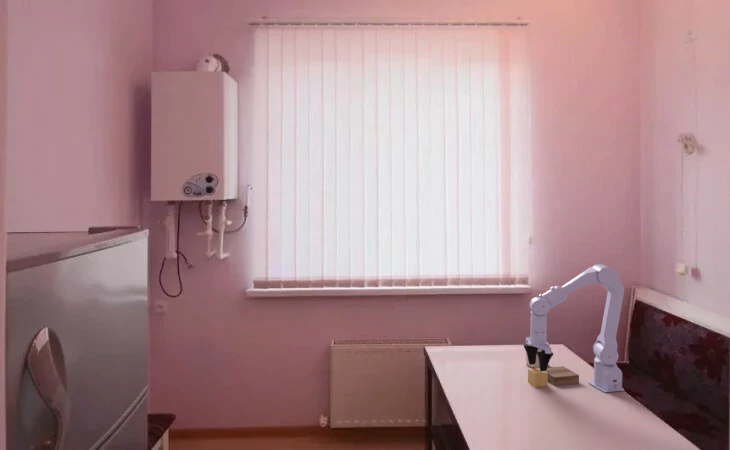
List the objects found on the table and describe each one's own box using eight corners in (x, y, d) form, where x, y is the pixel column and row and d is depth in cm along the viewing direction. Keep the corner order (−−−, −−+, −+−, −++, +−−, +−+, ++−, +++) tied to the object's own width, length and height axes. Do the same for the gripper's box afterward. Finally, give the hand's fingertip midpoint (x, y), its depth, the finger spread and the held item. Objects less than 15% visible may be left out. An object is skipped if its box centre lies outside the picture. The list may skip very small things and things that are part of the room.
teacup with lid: (552, 368, 212) (552, 340, 211) (529, 369, 212) (529, 340, 211) (542, 359, 224) (542, 331, 223) (520, 359, 224) (520, 332, 223)
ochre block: (547, 385, 194) (547, 372, 194) (534, 387, 193) (535, 373, 193) (540, 381, 199) (540, 367, 199) (527, 382, 198) (528, 369, 198)
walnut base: (578, 383, 197) (579, 375, 196) (554, 385, 195) (554, 377, 194) (563, 373, 206) (563, 366, 206) (539, 376, 204) (539, 368, 204)
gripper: (518, 326, 201) (517, 361, 202) (539, 336, 187) (538, 374, 188) (535, 325, 203) (534, 360, 204) (557, 335, 189) (556, 373, 190)
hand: (537, 367), depth 196 cm, fingers open, 7 cm apart
